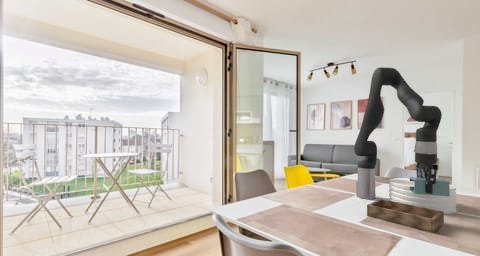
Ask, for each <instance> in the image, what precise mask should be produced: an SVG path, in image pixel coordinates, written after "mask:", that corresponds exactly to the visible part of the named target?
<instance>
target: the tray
mask: <svg viewBox="0 0 480 256" xmlns="http://www.w3.org/2000/svg"><path fill="white" fill-rule="evenodd" d="M366 217H370V218H372V219H374V218H375V219H378V220H382V221H385V222H389V223H392V224H396V225H401V226H404V227H409V228H411V229H416V230H419V231H423V232H427V233H430V234H436V232H437V231H438V230H439V229H441V228H442V226H443V225H444V224H445V214H444V211H439V210H434V209H429V208H424V207H419V206H414V205H409V204H404V203H399V202H394V201H389V199H388V200H387V199H384V198H380V199H378V200H375V201H373V202H370V203H368V204H367V205H366Z"/></svg>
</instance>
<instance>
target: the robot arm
mask: <svg viewBox="0 0 480 256" xmlns="http://www.w3.org/2000/svg"><path fill="white" fill-rule="evenodd" d="M370 80H371V81H370V86H369V87H370V88H369V95H368V98H367V102H366V106H365V110H364V113H363V114H364V115H363V119H362V121H361V122H362V123H361V125H360V129H359V133H358V134H357V137H356V141H355V143H354V146H353V147H354V148H353V149H354V150H353V151H354V152H353V153H354V154H355V155H356V156H358V157H364V158H363V159H362V160H361V161H359V162H358V163H357V179H356V180H355V183H356V184H355V186H356V187H355V190H356V193H355V196H356V197H358V198H361V199H366V200H376V194H377V193H376V165H377V160H378V159H377V158H378V147H377V143H376V142H375V141H374V140H369V137H370V135H371V134H373V131H375V130H376V129H377V128H379V125H380V124H381V123H382V121H383V117H384V115H385V114H384V113H385V107H384V103H383V101H382V100H383V99H382V95H381V93H382V88H383V86H387V87H388V86H390V87H392V88H393V89H394V90H396V96H397V99H398V101H399V102H400V103H401V104H402V105H404V107H405V108H406V109H407V112H408V115H409V116H410V117H411V119H413V120H414V121H415V122H417V123H418V122H419V123H424V124H423V125H422V127H419V128H417V129H416V130H415V145H414V163H417V164H416V165H415V167H416V168H415V170H416V177H420V178H424V179H425V183H426V188H425V192H426V193H429V194H432V192H433V184H436V178H437V169H434V168H433V167H434V166H433V165H437V164H438V144H437V140H438V139H437V136H438V135H437V134H438V133H437V132H438V130H439V127H440V123H441V121H442V118H443V117H442V116H443V115H442V114H443V112H442V110H441V109H440V108H439V107H438V106H437V105H436V106H435V105H423V104H424V99H423V97H422V96H421V95H420V94H419V93H417V92H416V91H415V90H414V89H413V88H412V87H410V85H409V84H408V83H407V81H406V79H404V77H403V75H402V74H401V73H400V72H399V71H398V69H396V68H394V67H382V66H381V67H376V69H375V70H374V71H373V73H372V76H371V79H370ZM430 180H431V181H430Z"/></svg>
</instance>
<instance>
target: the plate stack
mask: <svg viewBox="0 0 480 256" xmlns="http://www.w3.org/2000/svg"><path fill="white" fill-rule="evenodd" d="M388 183H389V184H388V187H389V189H388V192H389V198H388V200H389V201H394V202H399V203H404V204H409V205H414V206H419V207H424V208H429V209H434V210H439V211H444V215H445V214H446V215H447V214H454V213H456V212H457V202H456V201H457V197H456V196H457V192H456V191H457V187H456V186H455V185H453V184H450V196H437V195H424V194H414V193H413V192H411V191H410V186H413V187H414V181H410V177H408V178H407V177H406V178H405V177H404V178H403V177H402V178H401V177H400V178H398V177H397V178H390V179H389V180H388Z"/></svg>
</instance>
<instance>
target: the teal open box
mask: <svg viewBox="0 0 480 256" xmlns="http://www.w3.org/2000/svg"><path fill="white" fill-rule="evenodd" d="M409 178H410V181H414V187H413V186H410V191H411V192H413V193H414V194H424V195H437V196H450V183H451V182H450V181H449V180H447V179H444V178H437V177H436V184H433V192H432V194H429V193H426V192H425V188H426V183H425V179H424V178H420V177H417V176H415V177H414V176H409ZM430 181H431V180H430Z"/></svg>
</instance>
